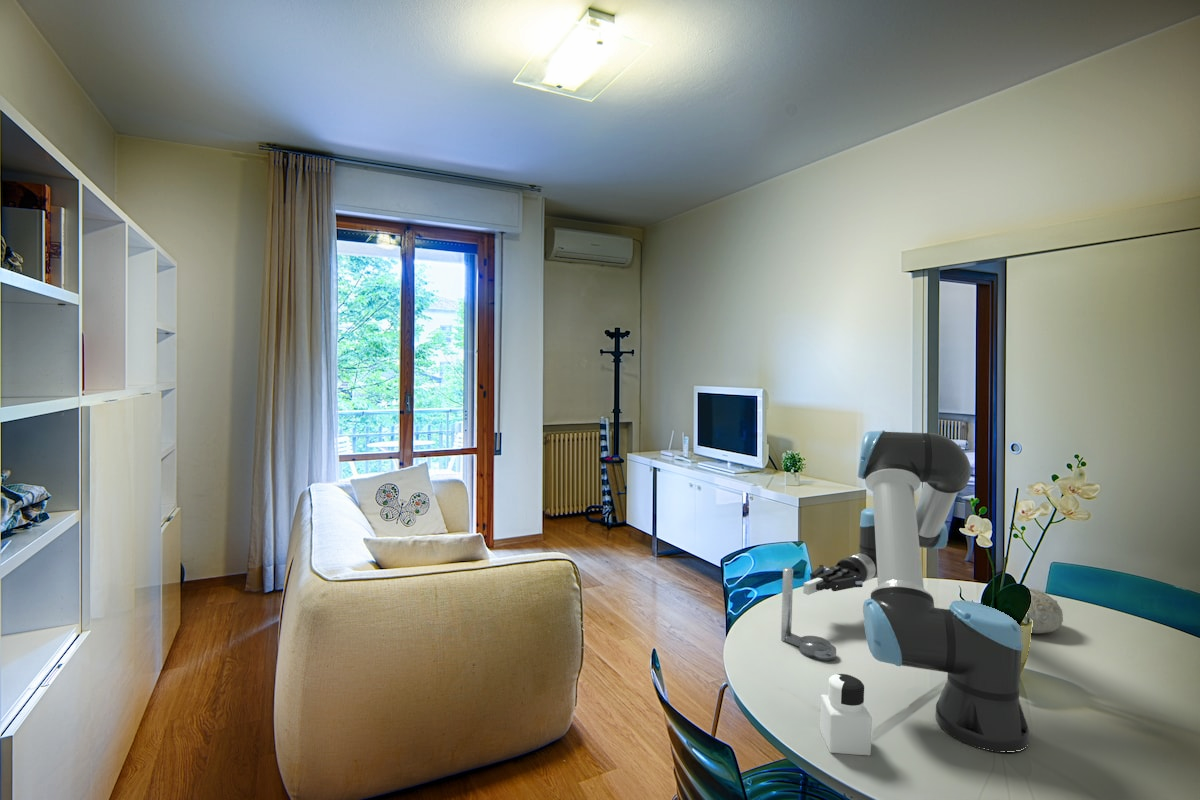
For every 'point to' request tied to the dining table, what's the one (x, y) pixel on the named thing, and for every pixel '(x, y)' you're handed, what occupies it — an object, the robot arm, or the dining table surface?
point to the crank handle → (807, 644)
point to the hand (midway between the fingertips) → (806, 588)
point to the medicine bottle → (845, 717)
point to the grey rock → (1044, 612)
